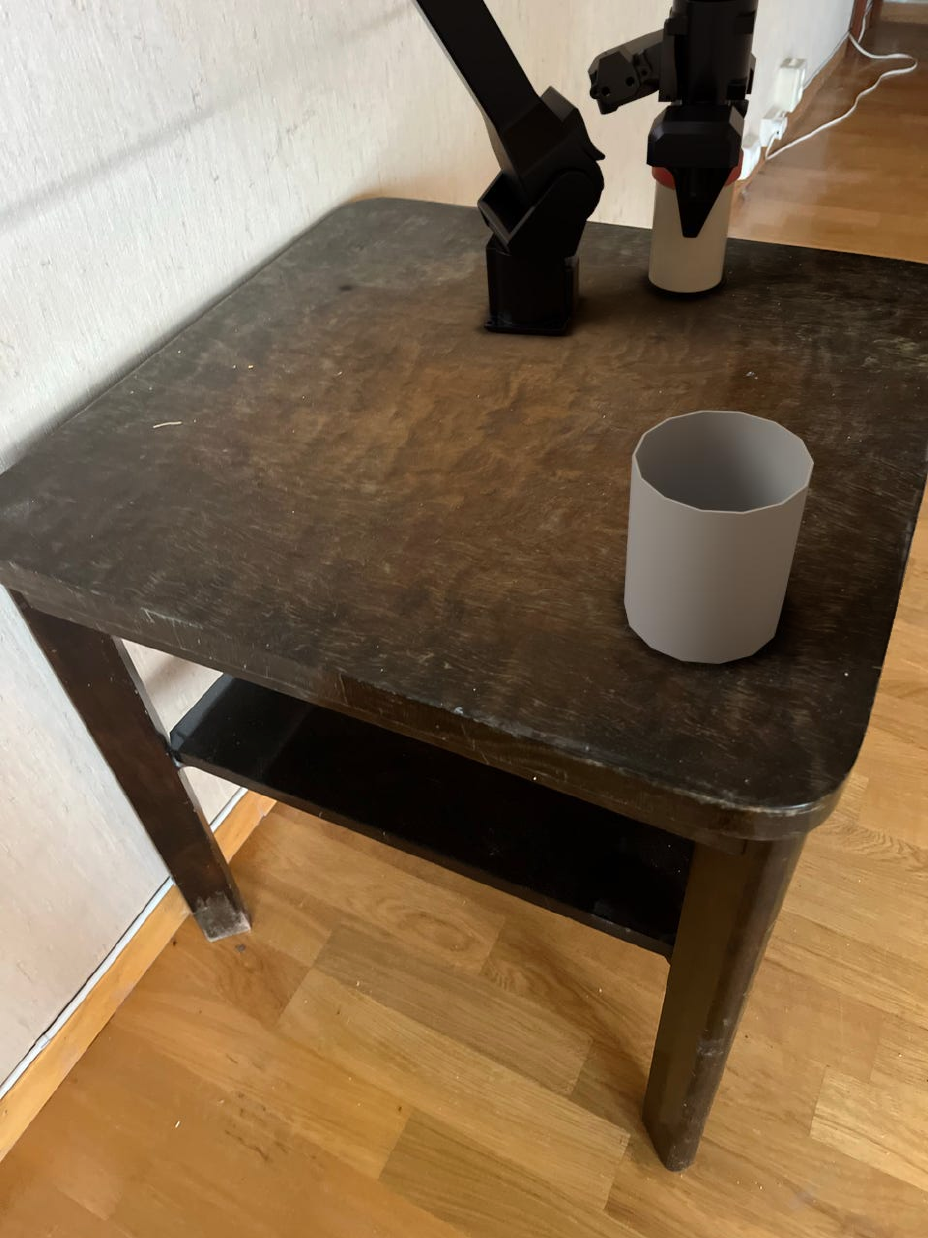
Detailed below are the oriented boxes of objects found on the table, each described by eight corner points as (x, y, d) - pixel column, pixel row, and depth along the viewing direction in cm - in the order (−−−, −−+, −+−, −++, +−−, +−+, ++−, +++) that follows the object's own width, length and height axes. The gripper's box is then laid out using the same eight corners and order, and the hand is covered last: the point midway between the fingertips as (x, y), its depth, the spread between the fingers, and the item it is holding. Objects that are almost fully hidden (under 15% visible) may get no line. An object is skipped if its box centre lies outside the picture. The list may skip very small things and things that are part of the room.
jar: (643, 290, 78) (652, 173, 71) (653, 258, 82) (662, 145, 75) (718, 294, 76) (734, 176, 70) (724, 262, 80) (740, 147, 74)
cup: (812, 624, 51) (852, 473, 44) (688, 686, 48) (708, 537, 41) (712, 539, 56) (732, 392, 49) (596, 591, 54) (600, 444, 47)
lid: (738, 191, 70) (741, 170, 69) (645, 188, 72) (647, 167, 71) (743, 157, 75) (746, 137, 74) (657, 155, 76) (658, 135, 75)
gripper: (618, -37, 73) (611, 173, 84) (574, 30, 60) (572, 267, 71) (768, -42, 70) (741, 176, 81) (754, 27, 58) (724, 274, 69)
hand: (694, 219), depth 76 cm, fingers closed on jar, lid, 6 cm apart
